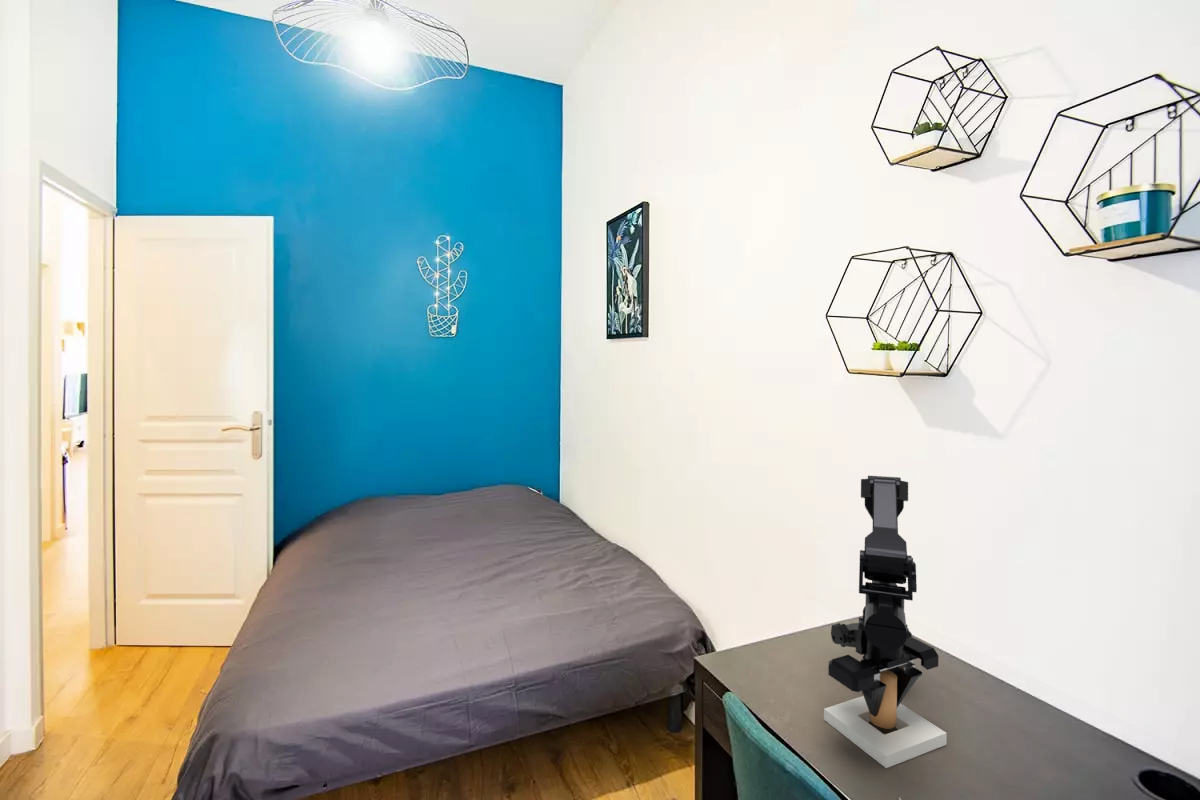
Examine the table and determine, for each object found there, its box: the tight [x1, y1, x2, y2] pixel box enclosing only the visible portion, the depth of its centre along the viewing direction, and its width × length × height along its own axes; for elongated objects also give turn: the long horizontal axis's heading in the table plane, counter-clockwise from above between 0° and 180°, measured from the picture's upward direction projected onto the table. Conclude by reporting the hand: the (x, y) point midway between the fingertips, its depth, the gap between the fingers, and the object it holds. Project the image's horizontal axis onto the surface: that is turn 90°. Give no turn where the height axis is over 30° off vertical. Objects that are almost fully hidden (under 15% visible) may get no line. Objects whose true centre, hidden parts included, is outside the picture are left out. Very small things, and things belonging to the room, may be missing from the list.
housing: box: [823, 695, 948, 769], centre depth 98 cm, size 13×13×2 cm
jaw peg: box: [870, 670, 897, 730], centre depth 97 cm, size 4×4×8 cm
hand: (883, 711), depth 97 cm, fingers closed on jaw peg, 4 cm apart
